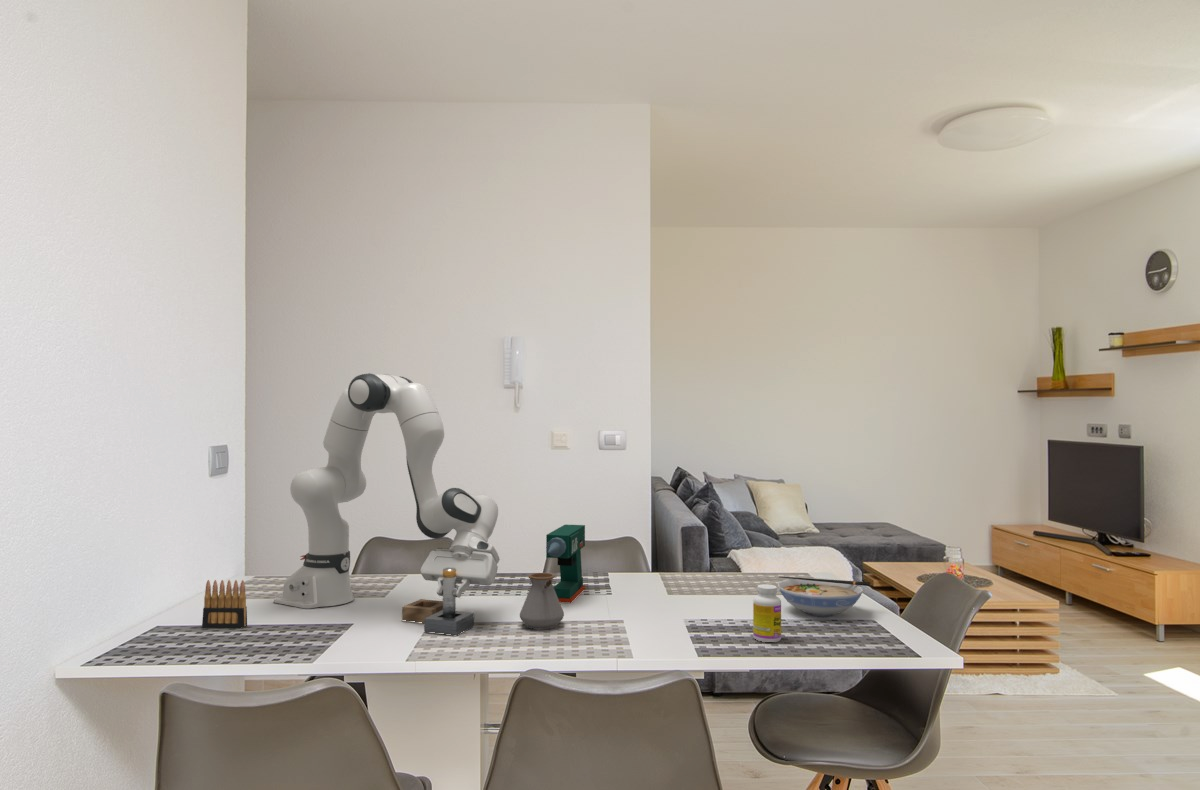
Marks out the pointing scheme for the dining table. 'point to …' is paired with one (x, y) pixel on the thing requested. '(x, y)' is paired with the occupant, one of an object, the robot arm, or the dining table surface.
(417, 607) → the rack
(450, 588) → the grey capped tube
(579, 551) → the power tool
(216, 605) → the ammunition clip
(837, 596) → the ramen bowl
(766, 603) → the supplement bottle
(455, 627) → the socket block
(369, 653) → the dining table surface
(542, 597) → the coffee pot
